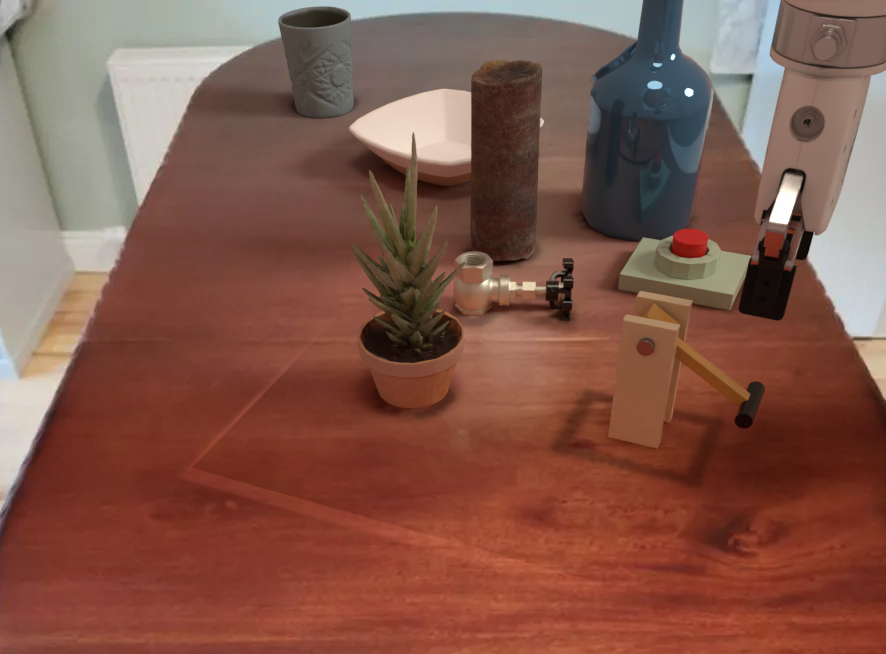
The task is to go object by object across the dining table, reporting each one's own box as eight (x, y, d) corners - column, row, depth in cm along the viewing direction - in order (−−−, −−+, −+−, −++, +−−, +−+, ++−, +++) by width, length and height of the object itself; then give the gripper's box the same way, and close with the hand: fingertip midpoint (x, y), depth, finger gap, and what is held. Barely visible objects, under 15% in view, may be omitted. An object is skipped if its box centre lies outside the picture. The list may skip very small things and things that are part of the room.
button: (709, 247, 106) (712, 231, 105) (700, 262, 104) (703, 246, 103) (675, 241, 107) (678, 226, 106) (667, 256, 105) (669, 240, 104)
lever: (753, 402, 85) (772, 384, 83) (740, 435, 81) (760, 417, 80) (641, 314, 83) (658, 294, 82) (624, 344, 80) (641, 324, 78)
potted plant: (387, 442, 90) (367, 165, 72) (348, 389, 96) (320, 121, 78) (486, 412, 92) (490, 138, 75) (442, 362, 98) (436, 98, 81)
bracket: (717, 427, 90) (745, 297, 81) (692, 485, 84) (720, 353, 75) (589, 398, 94) (602, 271, 84) (558, 453, 88) (568, 322, 79)
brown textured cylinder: (513, 277, 110) (520, 83, 96) (457, 261, 113) (455, 70, 99) (546, 248, 114) (557, 59, 100) (491, 234, 117) (494, 48, 103)
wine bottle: (712, 213, 120) (765, -84, 98) (659, 257, 112) (704, -54, 91) (612, 186, 126) (641, -100, 104) (556, 226, 118) (575, -73, 97)
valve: (451, 335, 102) (569, 337, 101) (450, 275, 97) (574, 276, 96) (455, 302, 106) (568, 304, 106) (454, 243, 102) (573, 244, 101)
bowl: (563, 160, 131) (565, 118, 128) (451, 216, 121) (450, 172, 117) (443, 120, 142) (442, 81, 138) (331, 168, 131) (326, 127, 128)
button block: (747, 274, 109) (754, 239, 106) (729, 314, 103) (736, 278, 101) (640, 255, 113) (645, 221, 110) (617, 292, 107) (621, 257, 104)
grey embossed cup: (354, 119, 143) (347, 27, 135) (284, 120, 143) (272, 28, 135) (360, 94, 150) (353, 4, 142) (293, 95, 151) (282, 5, 142)
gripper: (880, 86, 56) (804, 352, 68) (913, 1, 67) (842, 243, 79) (746, 69, 58) (696, 330, 71) (799, -11, 69) (747, 227, 82)
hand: (773, 284), depth 75 cm, fingers open, 9 cm apart
